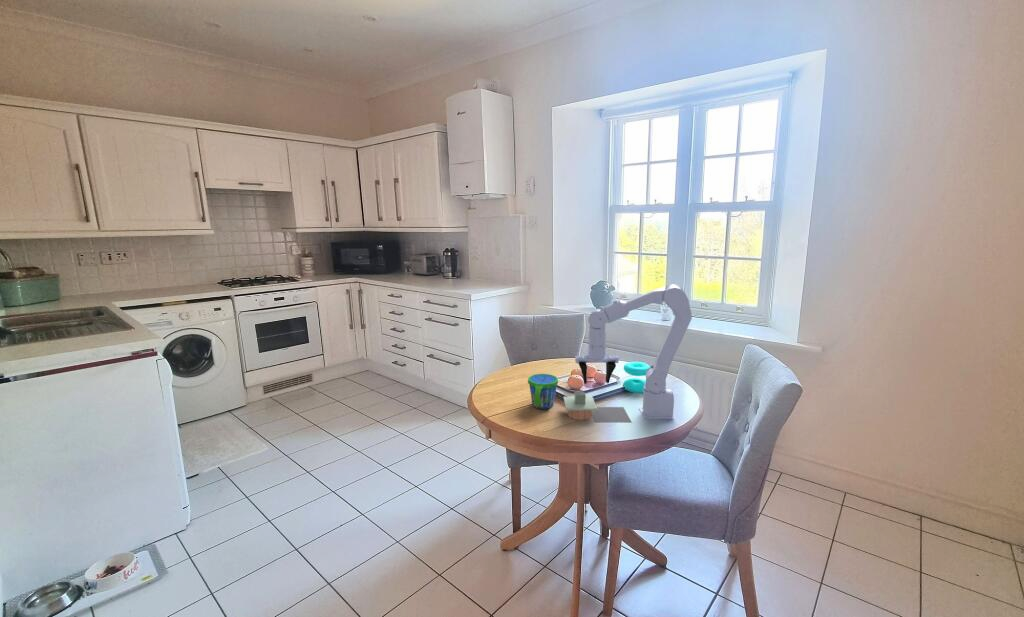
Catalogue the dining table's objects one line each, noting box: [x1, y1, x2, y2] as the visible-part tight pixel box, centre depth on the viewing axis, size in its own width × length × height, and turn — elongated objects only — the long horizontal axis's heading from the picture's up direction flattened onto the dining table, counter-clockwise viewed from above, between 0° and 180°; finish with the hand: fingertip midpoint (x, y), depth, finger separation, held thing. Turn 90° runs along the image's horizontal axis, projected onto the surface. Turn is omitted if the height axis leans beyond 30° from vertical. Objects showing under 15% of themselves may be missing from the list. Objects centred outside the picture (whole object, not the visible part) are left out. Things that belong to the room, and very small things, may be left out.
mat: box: [591, 406, 633, 423], centre depth 146 cm, size 12×12×1 cm
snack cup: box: [527, 373, 559, 410], centre depth 153 cm, size 16×10×10 cm
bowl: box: [566, 410, 592, 421], centre depth 146 cm, size 8×8×4 cm
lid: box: [563, 391, 598, 411], centre depth 145 cm, size 10×10×4 cm
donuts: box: [622, 361, 651, 394], centre depth 168 cm, size 10×10×10 cm
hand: (596, 382), depth 150 cm, fingers open, 7 cm apart
